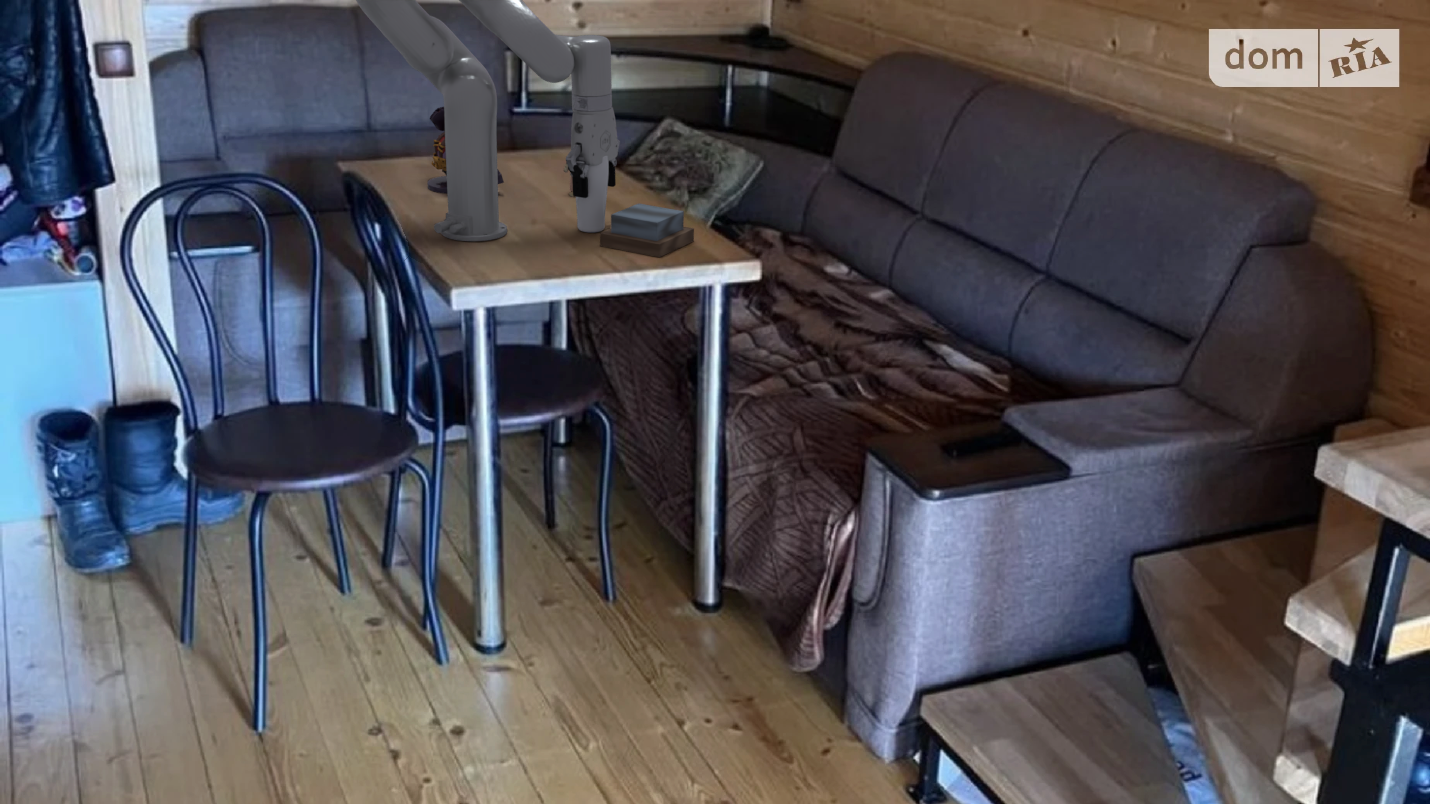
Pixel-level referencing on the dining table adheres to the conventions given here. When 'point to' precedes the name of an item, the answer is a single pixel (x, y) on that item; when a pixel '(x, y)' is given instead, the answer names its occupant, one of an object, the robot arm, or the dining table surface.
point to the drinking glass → (593, 198)
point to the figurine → (442, 154)
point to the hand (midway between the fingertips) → (594, 191)
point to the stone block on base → (647, 230)
